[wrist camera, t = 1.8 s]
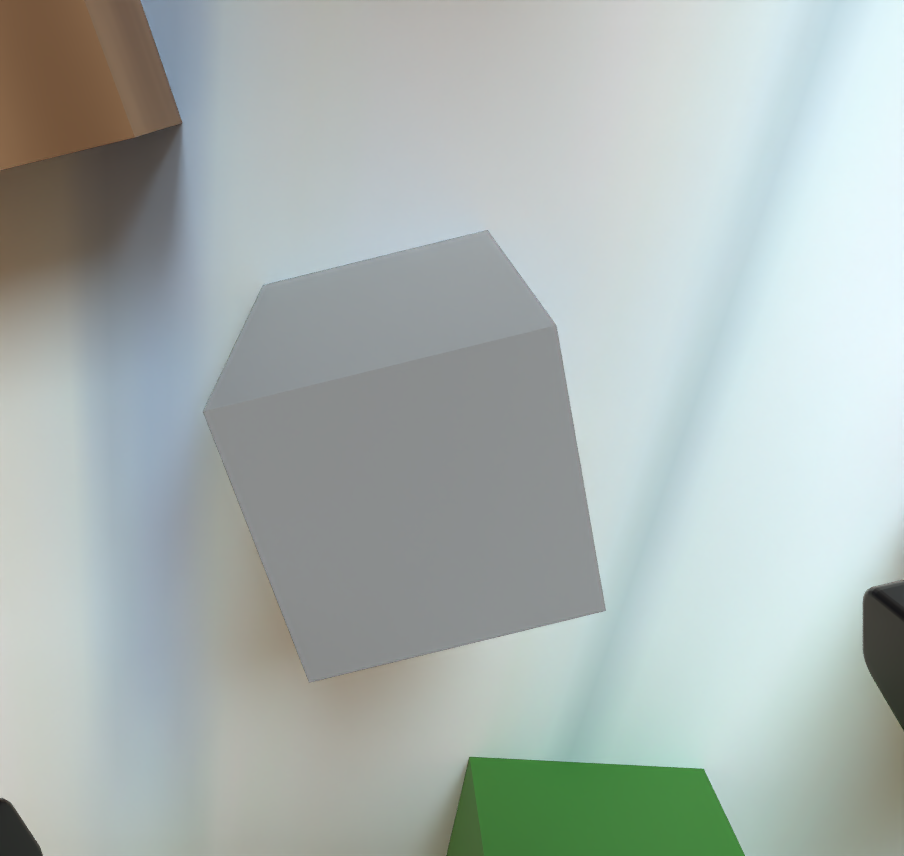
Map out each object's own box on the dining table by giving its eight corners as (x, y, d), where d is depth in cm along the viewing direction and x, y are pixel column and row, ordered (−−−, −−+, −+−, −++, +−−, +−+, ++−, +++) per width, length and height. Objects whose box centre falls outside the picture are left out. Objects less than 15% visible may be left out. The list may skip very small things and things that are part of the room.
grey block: (487, 229, 17) (556, 325, 11) (528, 432, 19) (605, 610, 13) (263, 285, 17) (203, 412, 11) (328, 481, 19) (309, 682, 13)
